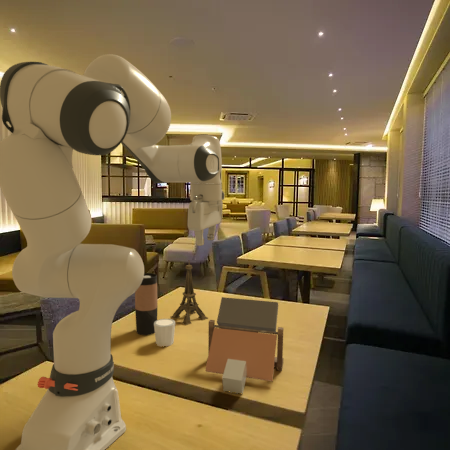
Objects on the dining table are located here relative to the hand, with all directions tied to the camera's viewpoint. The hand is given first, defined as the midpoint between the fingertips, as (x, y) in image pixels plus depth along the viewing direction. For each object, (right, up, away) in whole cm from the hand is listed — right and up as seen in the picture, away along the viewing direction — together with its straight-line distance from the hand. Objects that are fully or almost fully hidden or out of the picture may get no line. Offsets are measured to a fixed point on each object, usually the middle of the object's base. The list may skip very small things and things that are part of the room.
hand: (205, 242), depth 101 cm
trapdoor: (+11, -27, -1) cm, 30 cm away
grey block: (+9, -32, -10) cm, 34 cm away
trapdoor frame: (+12, -35, +2) cm, 37 cm away
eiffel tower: (-8, -32, +36) cm, 48 cm away
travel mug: (-22, -33, +23) cm, 46 cm away
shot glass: (-14, -34, +14) cm, 39 cm away
